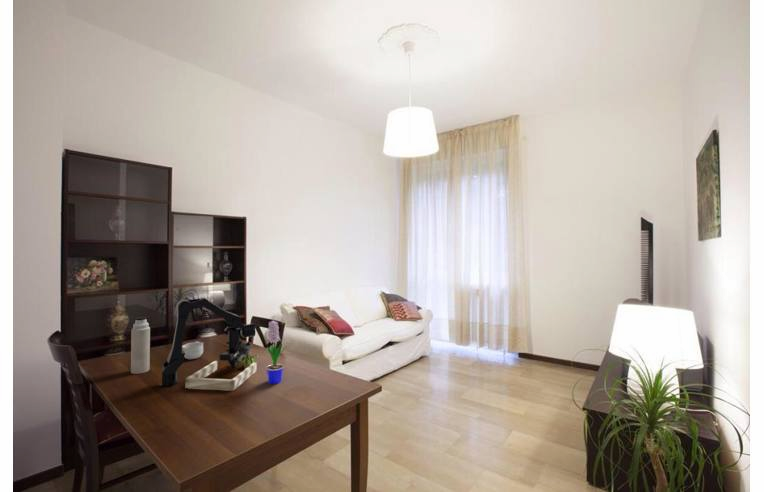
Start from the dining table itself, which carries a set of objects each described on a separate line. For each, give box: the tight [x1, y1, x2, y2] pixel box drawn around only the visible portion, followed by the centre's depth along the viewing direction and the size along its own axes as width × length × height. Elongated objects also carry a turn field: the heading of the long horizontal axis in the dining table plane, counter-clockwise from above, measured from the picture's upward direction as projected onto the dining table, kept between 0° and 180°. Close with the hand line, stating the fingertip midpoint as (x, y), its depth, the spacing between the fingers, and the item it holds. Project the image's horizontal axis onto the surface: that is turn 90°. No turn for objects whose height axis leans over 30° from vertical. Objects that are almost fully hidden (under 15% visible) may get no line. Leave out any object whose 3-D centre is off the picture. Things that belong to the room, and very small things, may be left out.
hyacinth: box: [265, 320, 286, 385], centre depth 167 cm, size 9×10×30 cm
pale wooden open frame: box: [184, 360, 258, 392], centre depth 169 cm, size 24×23×4 cm
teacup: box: [182, 340, 204, 360], centre depth 201 cm, size 14×11×8 cm
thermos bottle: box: [130, 316, 151, 375], centre depth 177 cm, size 8×8×28 cm
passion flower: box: [235, 352, 259, 370], centre depth 187 cm, size 13×12×14 cm
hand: (233, 368), depth 179 cm, fingers closed
